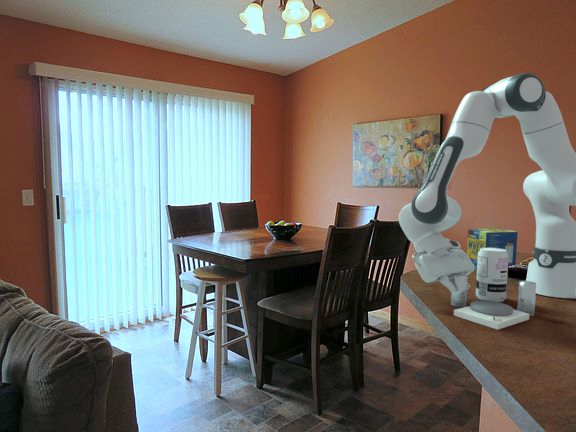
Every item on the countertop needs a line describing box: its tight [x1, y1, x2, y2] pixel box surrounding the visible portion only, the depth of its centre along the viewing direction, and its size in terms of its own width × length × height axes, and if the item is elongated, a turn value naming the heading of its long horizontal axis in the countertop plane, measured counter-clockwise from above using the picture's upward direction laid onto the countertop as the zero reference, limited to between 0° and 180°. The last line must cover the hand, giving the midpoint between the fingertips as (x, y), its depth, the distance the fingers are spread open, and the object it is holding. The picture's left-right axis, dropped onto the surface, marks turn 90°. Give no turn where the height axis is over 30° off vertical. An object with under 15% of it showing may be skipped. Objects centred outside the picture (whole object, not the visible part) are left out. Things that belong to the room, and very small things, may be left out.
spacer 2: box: [516, 280, 537, 317], centre depth 111 cm, size 4×4×8 cm
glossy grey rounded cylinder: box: [450, 274, 469, 308], centre depth 118 cm, size 4×4×8 cm
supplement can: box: [475, 248, 509, 303], centre depth 124 cm, size 8×8×15 cm
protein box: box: [466, 227, 519, 270], centre depth 168 cm, size 10×15×16 cm
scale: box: [453, 300, 530, 331], centre depth 108 cm, size 14×12×2 cm
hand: (461, 289), depth 117 cm, fingers closed on glossy grey rounded cylinder, 4 cm apart
